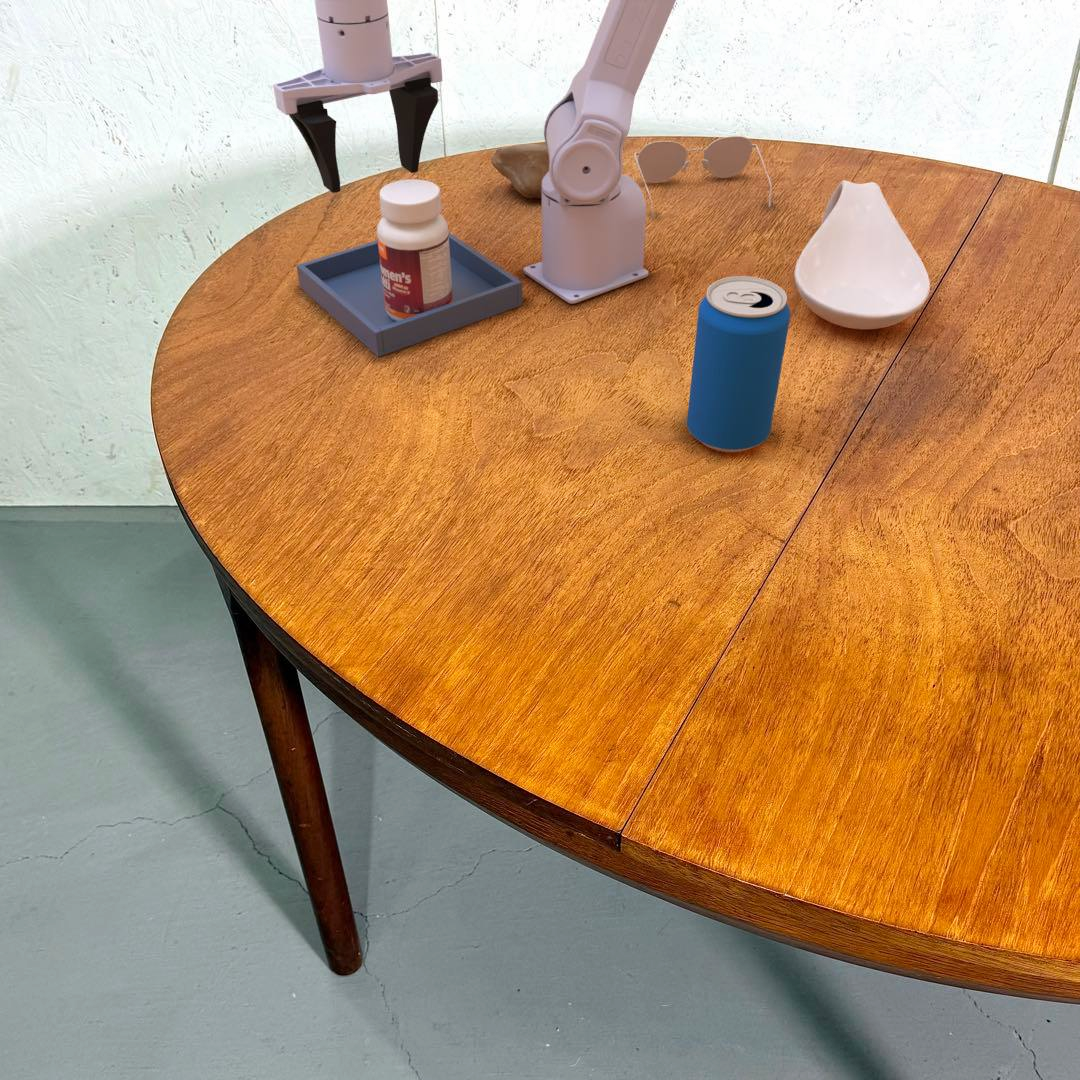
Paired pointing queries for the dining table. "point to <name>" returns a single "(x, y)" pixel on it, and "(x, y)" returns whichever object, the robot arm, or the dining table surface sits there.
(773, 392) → the beverage can
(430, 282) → the pill bottle
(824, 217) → the spoon rest
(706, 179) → the dining table surface
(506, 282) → the slate tray
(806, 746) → the dining table surface
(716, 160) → the sunglasses
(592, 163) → the robot arm
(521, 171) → the fossil
